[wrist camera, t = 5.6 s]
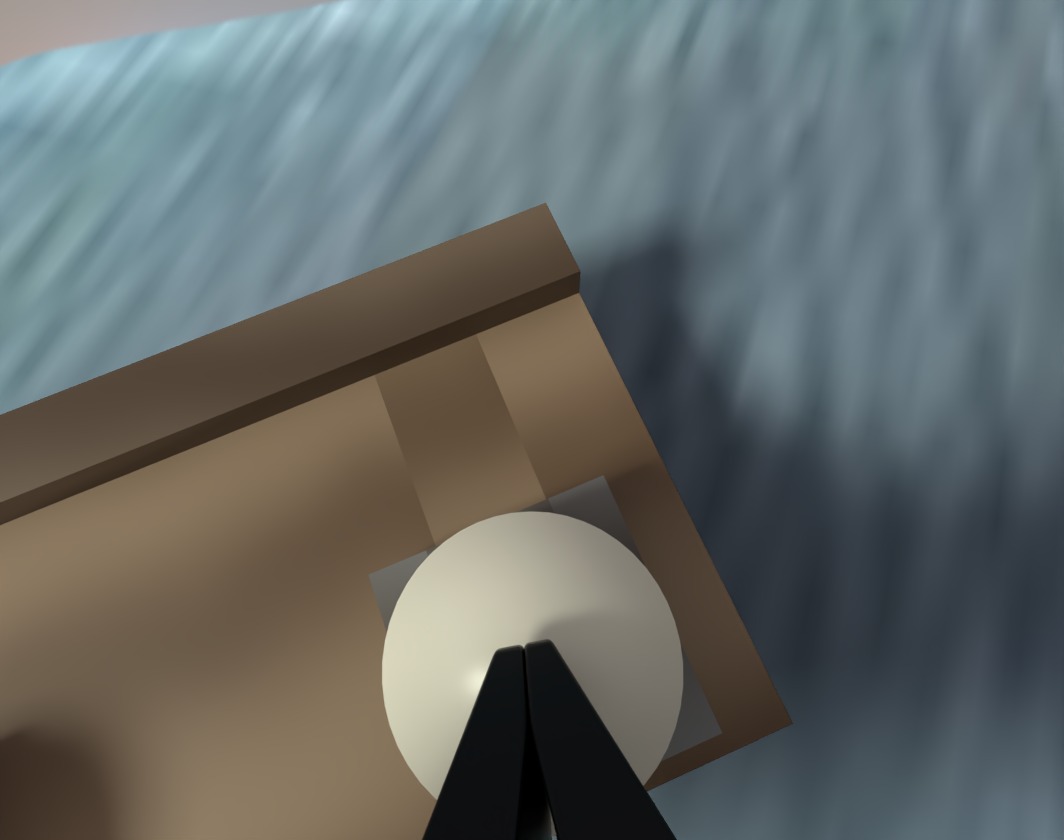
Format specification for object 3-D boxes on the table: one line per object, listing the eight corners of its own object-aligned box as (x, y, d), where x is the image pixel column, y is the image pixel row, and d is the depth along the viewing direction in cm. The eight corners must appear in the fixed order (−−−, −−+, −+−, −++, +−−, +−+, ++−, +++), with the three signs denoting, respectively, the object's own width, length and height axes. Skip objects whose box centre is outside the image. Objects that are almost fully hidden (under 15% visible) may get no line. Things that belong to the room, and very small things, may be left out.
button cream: (662, 582, 15) (722, 577, 9) (597, 772, 13) (621, 899, 8) (495, 513, 15) (457, 469, 10) (421, 688, 14) (329, 751, 9)
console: (740, 692, 15) (819, 738, 10) (-128, 1090, 13) (-488, 1349, 9) (549, 295, 18) (545, 197, 13) (-156, 578, 17) (-424, 573, 12)
